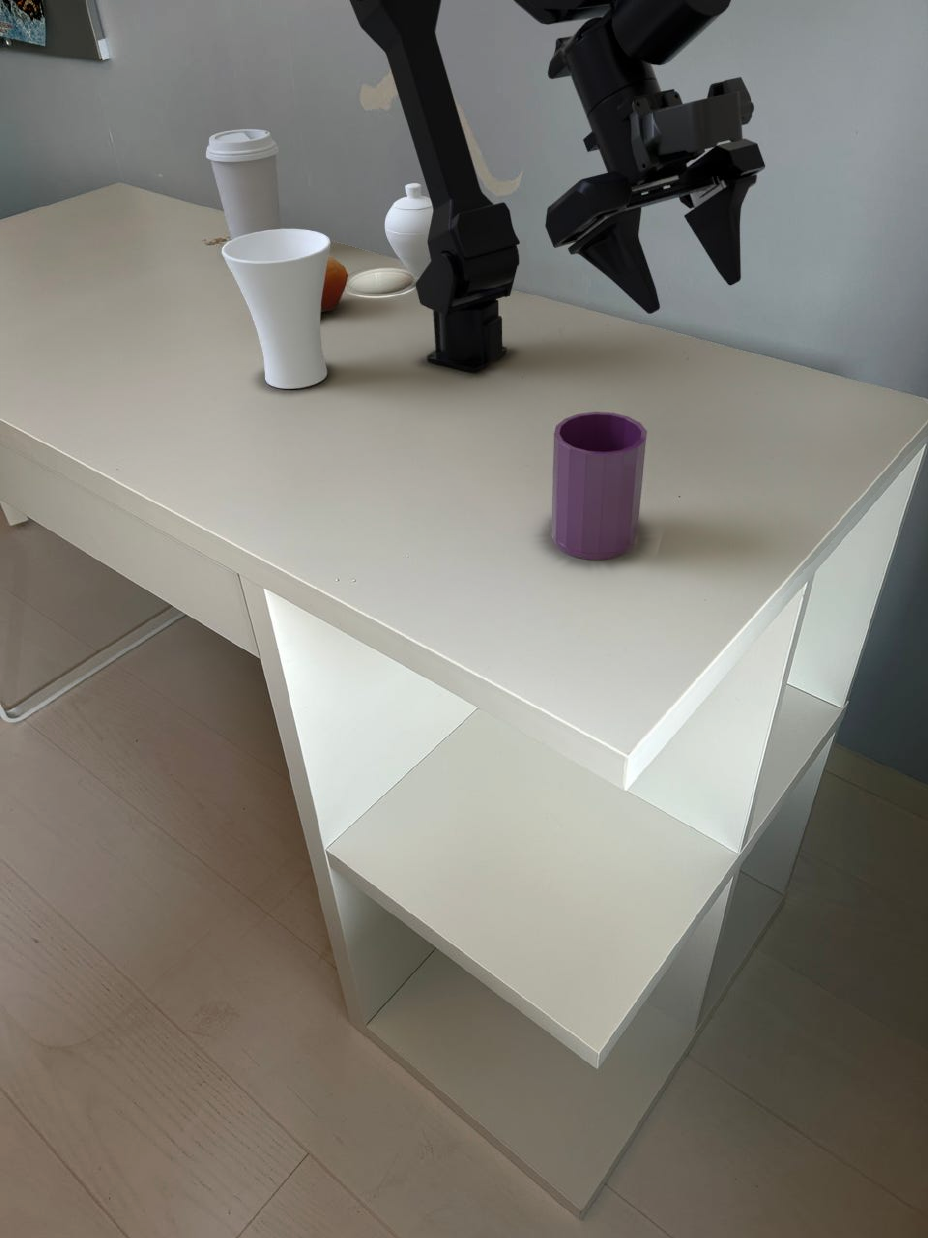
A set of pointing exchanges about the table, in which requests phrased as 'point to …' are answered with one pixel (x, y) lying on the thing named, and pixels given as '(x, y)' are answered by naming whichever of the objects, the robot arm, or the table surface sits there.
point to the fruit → (333, 284)
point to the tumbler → (597, 484)
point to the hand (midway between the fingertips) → (696, 296)
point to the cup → (284, 299)
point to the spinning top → (410, 229)
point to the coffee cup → (246, 179)
